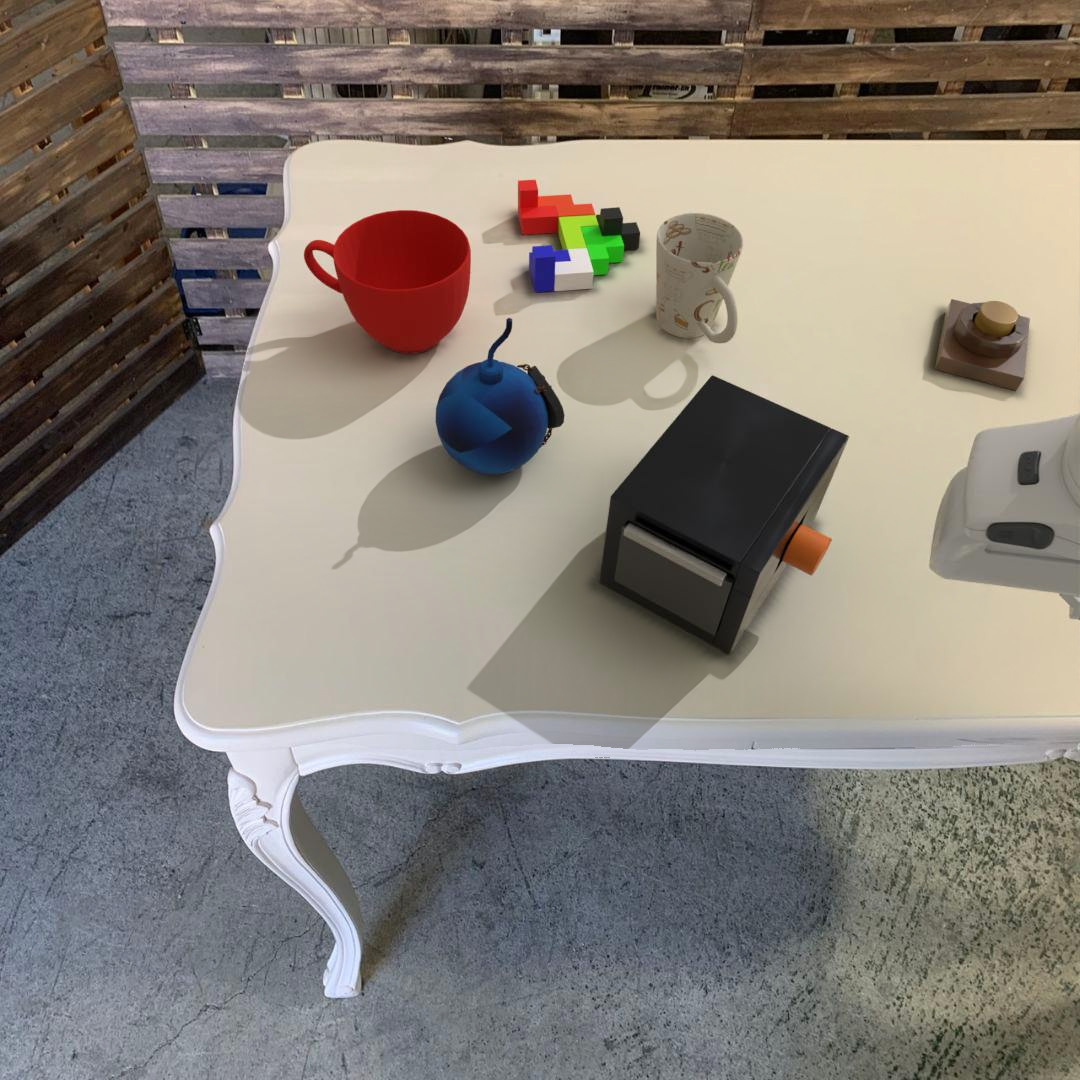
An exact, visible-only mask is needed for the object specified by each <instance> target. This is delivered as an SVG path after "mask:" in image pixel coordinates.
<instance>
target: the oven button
mask: <svg viewBox="0 0 1080 1080" xmlns="http://www.w3.org/2000/svg"><path fill="white" fill-rule="evenodd" d="M831 542H832V538H831V537H829V536H827V535H826V534H823V533H822V532H819V531H817V530H815V529H813V528H811V527H810V528H809V527H807V526H805V525H800V526H799V528H798V529H797V531H796V532H795V534H794V536H793V537H792V539H791V541H790V543H789V545H788V547H787V549H786V551H785V553H784V556H783V559H782V561H783V562H785V563H787V565H789V566H791V567H793V568H795V569H797V570H799V571H801V572H803V573H806V574H807V575H808V576H813V575H814V574H815V572H816V571H817V569H818V567H819V566H820V564H821V562H822V561H823V559H824V557H825V555H826V553H827V551H828V549H829V548H830V546H831Z"/></svg>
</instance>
